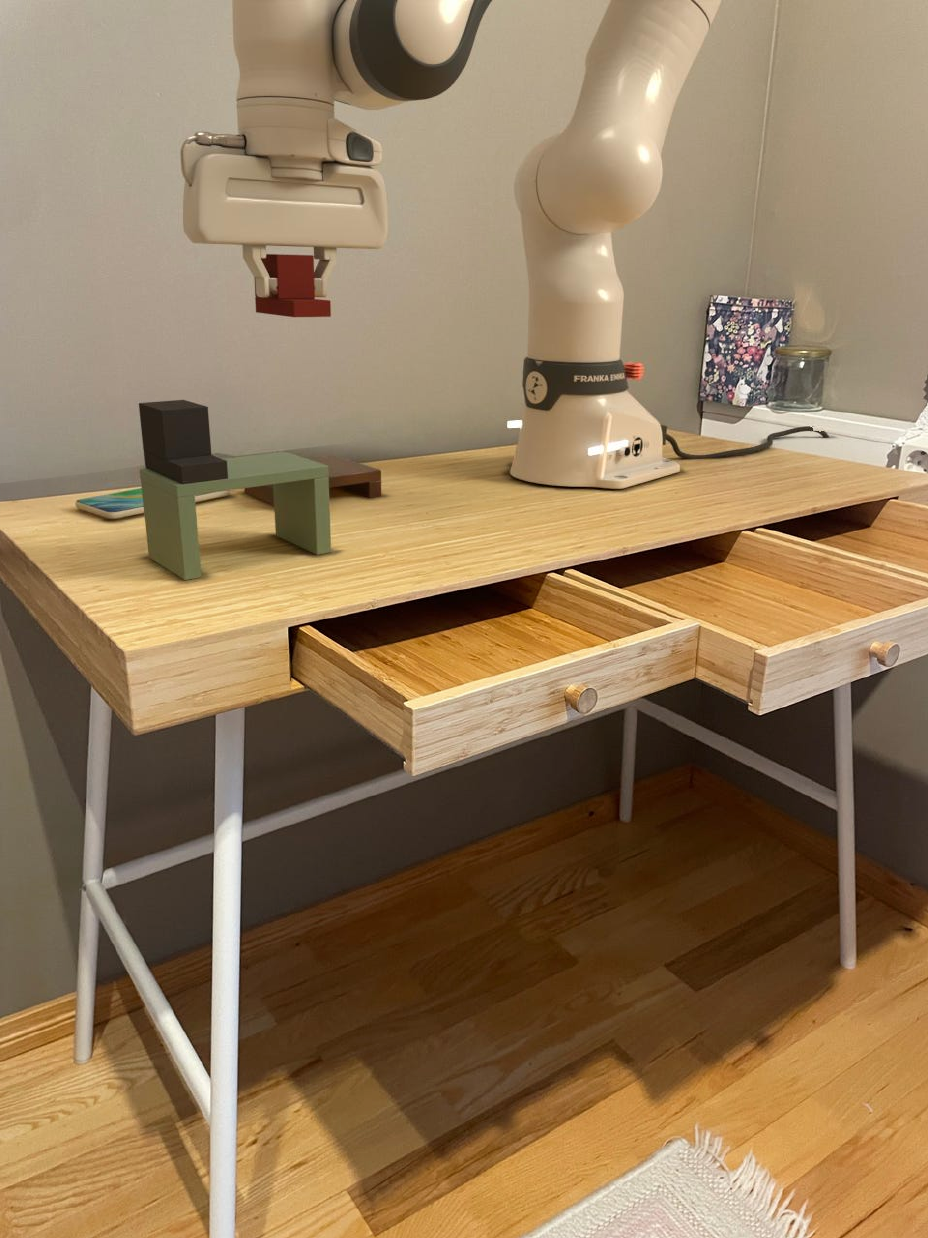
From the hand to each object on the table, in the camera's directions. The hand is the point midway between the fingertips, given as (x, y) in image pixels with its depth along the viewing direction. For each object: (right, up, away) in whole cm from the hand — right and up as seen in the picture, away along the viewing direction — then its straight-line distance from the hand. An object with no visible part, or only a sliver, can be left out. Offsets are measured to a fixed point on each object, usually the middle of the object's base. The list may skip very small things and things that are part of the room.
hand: (292, 297), depth 94 cm
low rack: (0, -17, +15) cm, 23 cm away
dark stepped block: (-7, -19, -13) cm, 24 cm away
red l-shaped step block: (0, -1, +1) cm, 2 cm away
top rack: (-3, -26, -7) cm, 27 cm away
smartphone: (-17, -19, +10) cm, 27 cm away
